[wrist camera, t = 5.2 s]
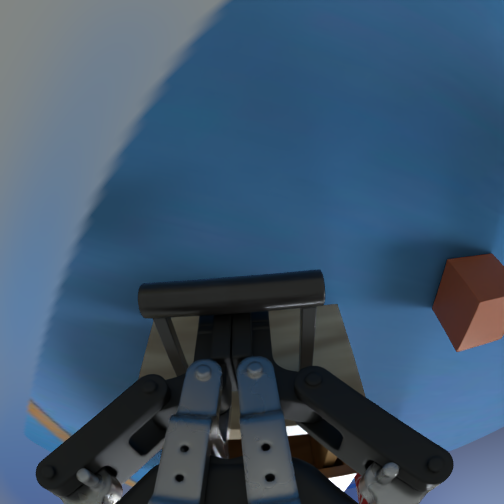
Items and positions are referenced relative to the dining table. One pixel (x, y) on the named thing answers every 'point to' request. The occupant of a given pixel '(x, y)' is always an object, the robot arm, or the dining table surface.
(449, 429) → the dining table surface
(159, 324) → the drawer
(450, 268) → the block
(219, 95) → the dining table surface
